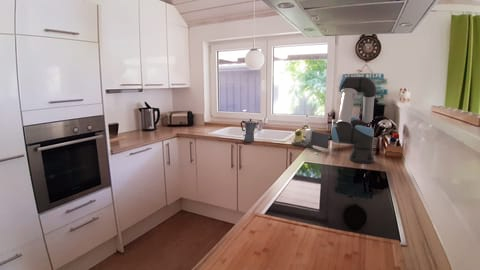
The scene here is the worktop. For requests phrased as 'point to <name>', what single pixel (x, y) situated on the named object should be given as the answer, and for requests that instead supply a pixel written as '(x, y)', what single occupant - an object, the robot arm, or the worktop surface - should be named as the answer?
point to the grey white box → (316, 139)
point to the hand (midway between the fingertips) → (323, 139)
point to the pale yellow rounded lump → (298, 138)
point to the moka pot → (249, 130)
